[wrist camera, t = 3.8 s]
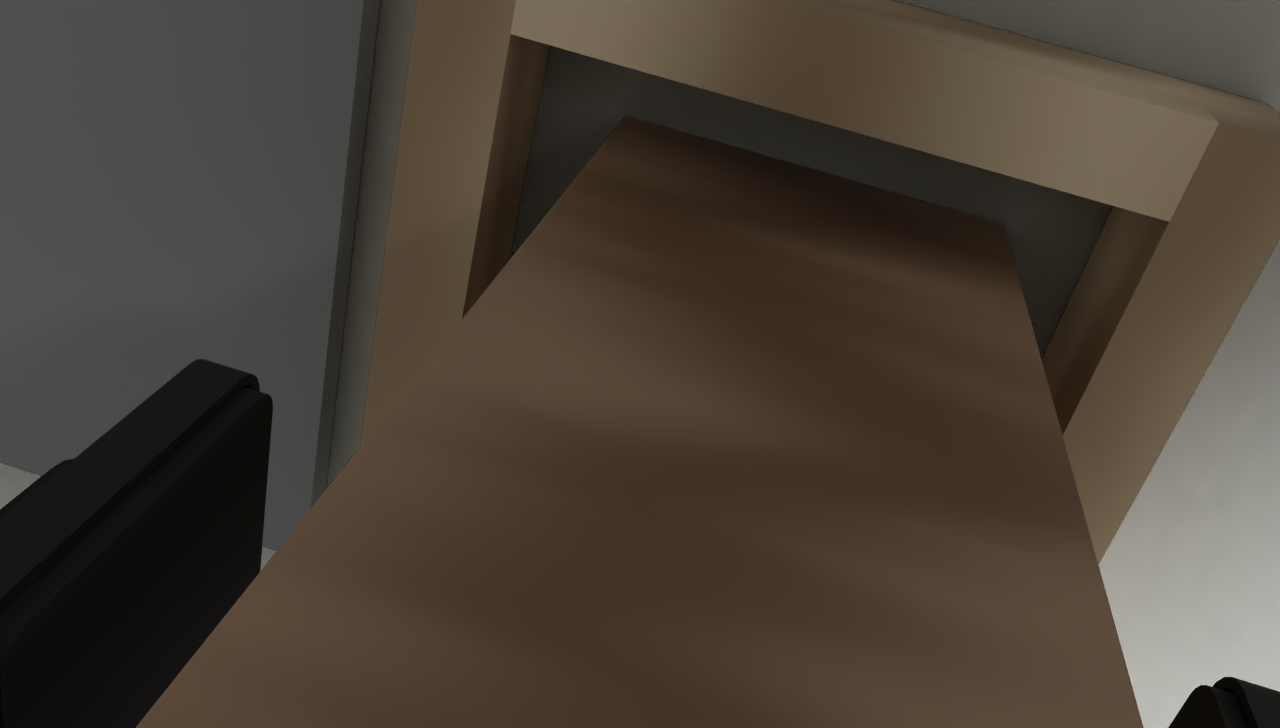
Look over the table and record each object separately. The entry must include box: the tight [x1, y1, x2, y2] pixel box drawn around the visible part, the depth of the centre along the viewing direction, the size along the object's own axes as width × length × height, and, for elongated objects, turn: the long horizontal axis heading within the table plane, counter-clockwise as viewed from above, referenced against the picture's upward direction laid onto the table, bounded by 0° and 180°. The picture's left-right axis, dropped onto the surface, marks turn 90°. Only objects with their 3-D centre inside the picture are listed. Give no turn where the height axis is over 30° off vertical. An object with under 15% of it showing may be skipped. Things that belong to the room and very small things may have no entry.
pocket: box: [360, 0, 1280, 564], centre depth 16 cm, size 10×10×2 cm
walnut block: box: [136, 115, 1143, 728], centre depth 10 cm, size 6×6×15 cm
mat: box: [0, 0, 380, 551], centre depth 18 cm, size 11×11×1 cm
